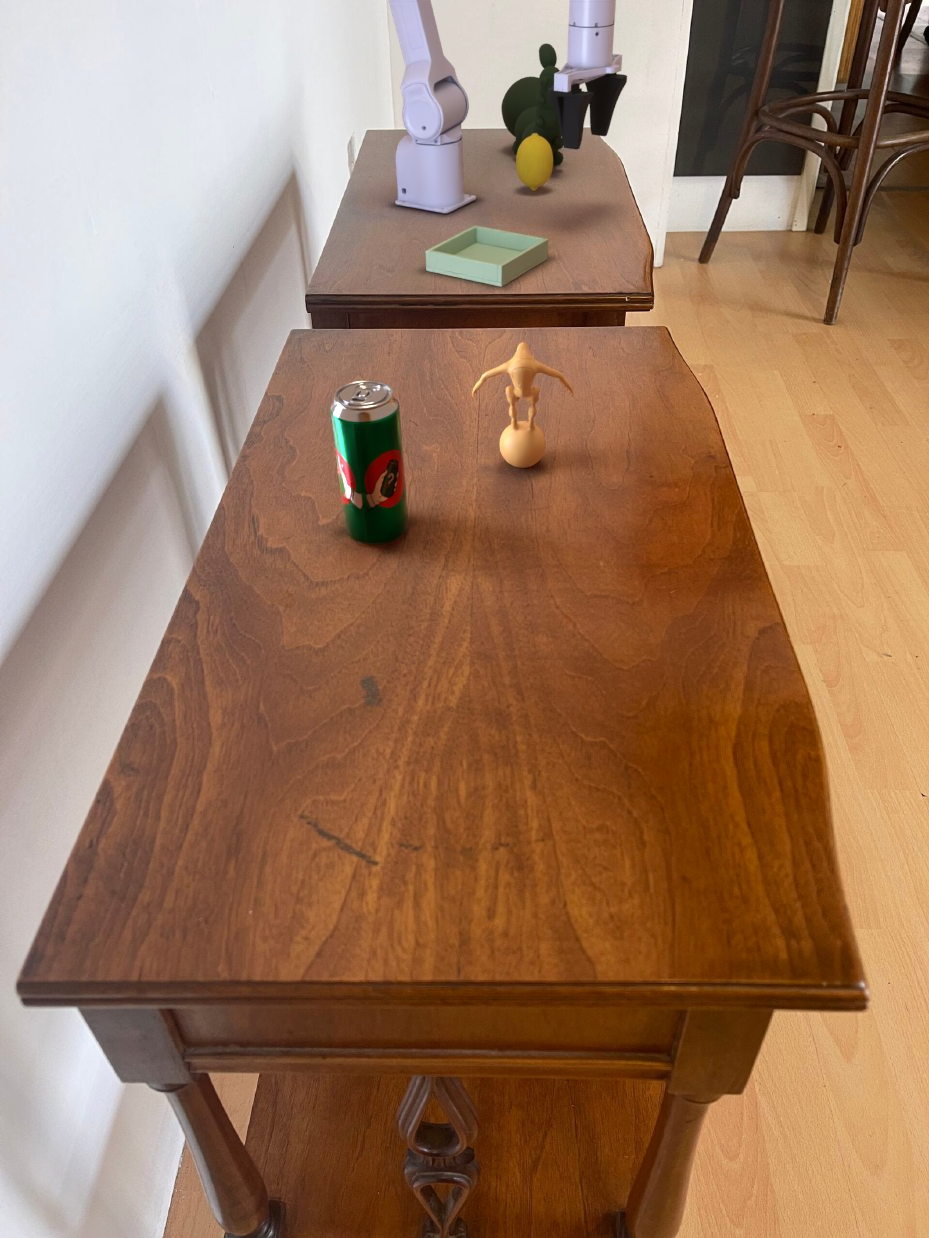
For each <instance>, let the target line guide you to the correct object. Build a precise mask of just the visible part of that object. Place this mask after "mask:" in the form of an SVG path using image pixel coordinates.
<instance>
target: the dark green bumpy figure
mask: <svg viewBox="0 0 929 1238" xmlns="http://www.w3.org/2000/svg"><path fill="white" fill-rule="evenodd" d="M538 58H539V59H538V60H539V64H540V65H541V67H542V68H543V69H542V70H541V72H540V74H539V77H538V76H525V77H521V78H520V79H518V80H516V81H515V82H513V83H512V84H511V85H510V86H509V88H508V89H507V90H506V92H505V94H504V96H503V98H502V101H501V107H500V109H501V116H502V121H503V123H504V126H505V128H506V129H507V131H508V133H510V134H511V135H512V136H513V137H514V138H515V141H514V142H513V144H512V149H511V150H512V153H513V154H514V155H515V156H517V152H518V148H519V146H520V144H521V143H522V142H523V141H524V140H525V139H526V138H527V137H529V136H531V135H532V134H533V133H537V134H538V135H539V136H541V137H543V138H544V139H546V140H547V142H548V143H549V144H550V146H551V149H552V154H553V166H559V165H561V164H562V163H563V161H564V154H563V153H562V152H561V151H559V150H562V148H564V146H563V141H562V136H561V131H560V126H559V121H558V118H557V114H556V112H555V109H554V106H553V104H552V102H551V100H550V98H549V97H548V89H549V88H550V87H553V86H554V74H555V73H557V72H559V71H560V70H561V69H559V68H558V67H556V65H557V61H558V56H557V52H556V49H555V48H554V46H553V45H552V44H550V43H543V44H541V45H540V46H539V49H538Z"/></svg>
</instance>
